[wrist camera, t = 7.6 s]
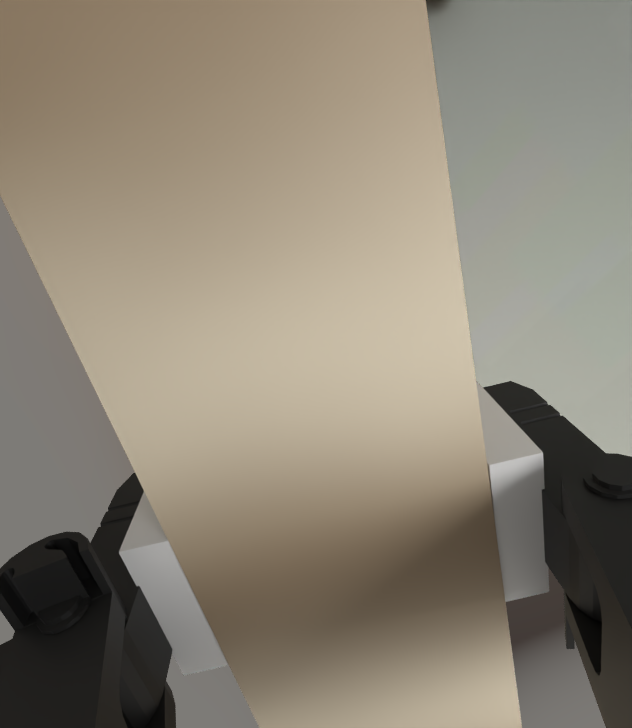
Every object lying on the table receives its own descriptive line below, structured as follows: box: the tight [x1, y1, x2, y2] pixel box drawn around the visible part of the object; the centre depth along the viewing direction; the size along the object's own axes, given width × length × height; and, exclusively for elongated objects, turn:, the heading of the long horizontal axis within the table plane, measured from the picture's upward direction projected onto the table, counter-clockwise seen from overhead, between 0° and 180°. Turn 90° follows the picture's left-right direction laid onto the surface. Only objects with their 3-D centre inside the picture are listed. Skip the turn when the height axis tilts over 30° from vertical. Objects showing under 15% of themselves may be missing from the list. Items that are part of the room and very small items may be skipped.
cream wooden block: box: [0, 0, 522, 728], centre depth 10 cm, size 16×4×7 cm, turn 14°
